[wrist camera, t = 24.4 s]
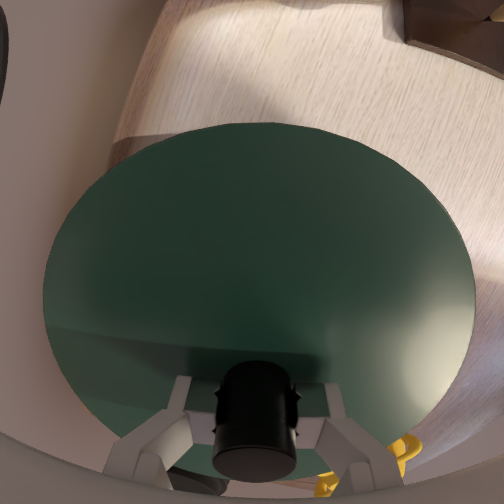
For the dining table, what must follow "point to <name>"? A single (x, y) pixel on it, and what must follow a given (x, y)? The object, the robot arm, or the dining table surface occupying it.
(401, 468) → the teapot
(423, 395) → the lid
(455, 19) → the board
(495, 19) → the ice cream cone
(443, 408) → the dining table surface
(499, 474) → the robot arm
